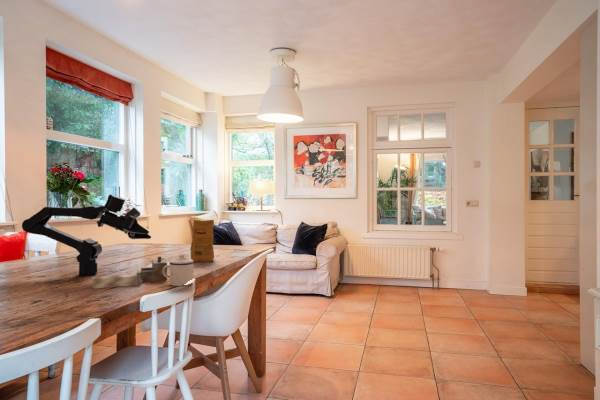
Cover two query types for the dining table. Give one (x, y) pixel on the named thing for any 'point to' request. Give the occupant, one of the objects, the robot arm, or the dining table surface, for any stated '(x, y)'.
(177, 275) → the teacup with lid
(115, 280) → the rail
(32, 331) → the dining table surface
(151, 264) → the baseboard molding
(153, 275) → the knobbed grey box
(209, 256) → the coffee package
